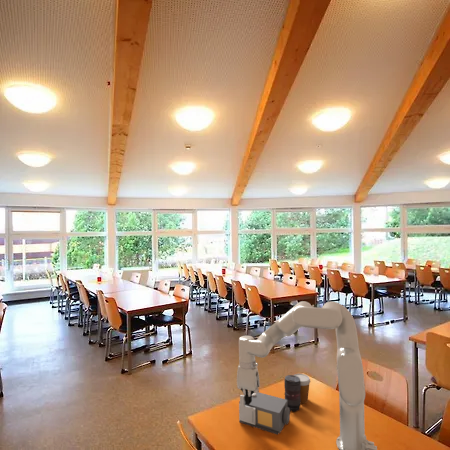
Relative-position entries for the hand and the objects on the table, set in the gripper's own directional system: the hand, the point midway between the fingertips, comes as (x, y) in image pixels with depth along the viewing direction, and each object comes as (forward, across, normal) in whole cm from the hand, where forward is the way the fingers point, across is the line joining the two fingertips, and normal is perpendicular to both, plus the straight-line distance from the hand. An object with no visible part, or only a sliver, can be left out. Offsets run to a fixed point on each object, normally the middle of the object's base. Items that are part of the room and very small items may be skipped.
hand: (248, 403), depth 142 cm
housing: (+10, -5, -7) cm, 13 cm away
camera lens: (+10, -14, -23) cm, 29 cm away
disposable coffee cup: (+10, -16, -32) cm, 37 cm away
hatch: (+9, +1, 0) cm, 9 cm away
